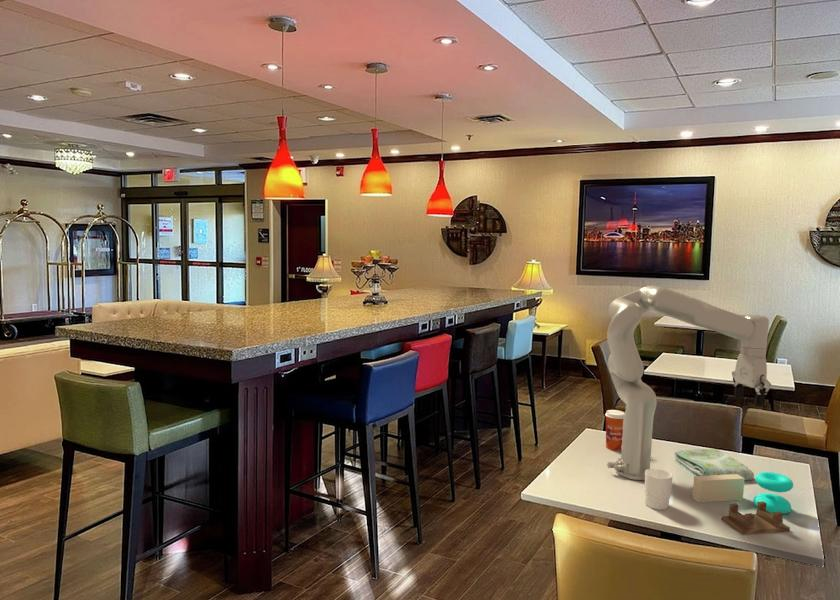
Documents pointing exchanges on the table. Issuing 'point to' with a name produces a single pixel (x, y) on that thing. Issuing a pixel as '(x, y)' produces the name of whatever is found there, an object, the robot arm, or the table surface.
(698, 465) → the towel
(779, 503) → the donuts
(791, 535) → the table surface
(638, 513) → the table surface
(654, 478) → the white cup
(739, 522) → the rack
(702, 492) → the cream rectangular block
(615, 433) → the paper cup
